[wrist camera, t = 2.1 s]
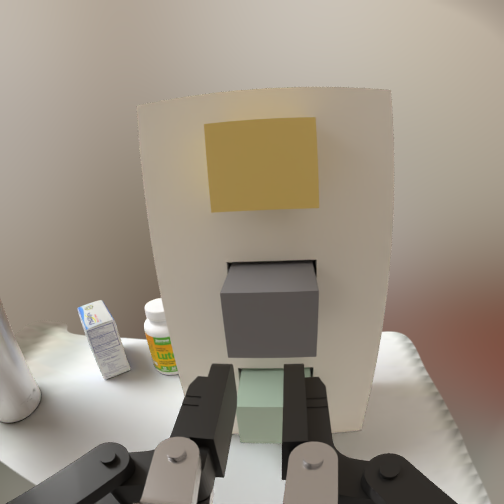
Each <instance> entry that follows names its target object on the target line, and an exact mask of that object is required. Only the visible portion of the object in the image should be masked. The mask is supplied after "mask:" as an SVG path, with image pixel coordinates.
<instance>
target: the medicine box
mask: <svg viewBox="0 0 504 504" xmlns="http://www.w3.org/2000/svg"><path fill="white" fill-rule="evenodd" d="M78 313H79V316H80V320H81V322H82V325H83V328H84V331H85V334H86V337H87V340H88V342H89V345H90V348H91V350H92V353H93V355H94V357H95V360H96V362H97V364H98V366H99V369H100V371H101V373H102V376H103V378H104V379H108V378H111V377H114V376H117V375H119V374H122V373H124V372H126V371H129V370H131V368H130V365H129V363H128V360H127V357H126V354H125V351H124V348H123V345H122V342H121V339H120V336H119V333H118V330H117V326H116V324H115V321H114V319H113V317H112V316H111V314H110V312H109V311H108V309H107V307H106V306H105V304H104V302H103V301H102V300H100V301H96V302H92V303H89V304H86V305H83V306H81V307H79V308H78Z"/></svg>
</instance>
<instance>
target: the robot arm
mask: <svg viewBox="0 0 504 504" xmlns="http://www.w3.org/2000/svg"><path fill="white" fill-rule="evenodd" d="M40 399H41V392H40V389H39V387H38V386H37V384H36V382H35V380H34V378H33V376H32V374H31V371H30V369H29V367H28V365H27V363H26V361H25V359H24V356H23V354H22V352H21V350H20V347H19V345H18V343H17V341H16V338H15V336H14V334H13V331H12V328H11V326H10V323H9V321H8V318H7V315H6V313H5V310H4V307H3V304H2V302H1V299H0V421H1V422H5V423H11V422H17V421H19V420H22V419H24V418H26V417H27V416H29V415H30V414H31V413H32V412H33V411H34V410H35V409H36V408H37V406H38V405H39V402H40ZM236 409H237V390H236V383H235V375H234V368H233V364H217V363H212V365H211V367H210V371H209V374H208V377H205V376H198V377H197V378H196V379H195V380H194V381H193V382H192V383H191V384H190V385H189V387H188V389H187V392H186V395H185V398H184V400H183V403H182V406H181V409H180V411H179V414H178V417H177V420H176V422H175V425H174V428H173V431H172V433H171V436H170V438H168V439H166V440H164V441H162V442H161V443H160V444H159V445H158V446H157V447H156V449H155V450H151V451H144V452H131V453H128V451H127V449H126V448H125V447H124V446H122V445H120V444H118V443H113V442H108V443H103V444H100V445H98V446H97V447H95V448H94V449H92V450H91V451H89V452H88V453H86V454H85V455H83V456H82V457H80V458H79V459H77V460H76V461H74V462H73V463H71V464H70V465H68V466H67V467H65V468H64V469H62V470H60V471H59V472H57V473H56V474H54V475H53V476H51V477H49V478H48V479H46V480H45V481H43V482H41V483H40V484H38V485H37V486H35V487H33V488H32V489H30V490H28V491H27V492H25V493H23V494H22V495H20V496H18V497H17V498H15V499H13V500H12V501H10V502H8V503H6V504H213V495H214V492H213V486H214V481H215V477H222V478H224V475H225V469H226V464H227V459H228V453H229V448H230V442H231V437H232V431H233V426H234V420H235V415H236ZM282 480H286V485H285V492H284V499H283V504H458V503H456V502H455V501H454V500H453V499H452V498H450V497H449V496H448V495H447V494H446V493H444V492H443V491H442V490H441V489H440V488H438V487H437V486H436V485H435V484H434V483H433V482H431V481H430V480H429V479H428V478H427V477H426V476H424V475H423V474H422V473H421V472H420V471H419V470H418V469H416V468H415V467H414V466H413V465H412V464H411V463H410V462H408V461H407V460H406V459H405V458H404V457H402V456H400V455H397V454H390V453H388V454H381V455H378V456H376V457H374V458H373V459H371V460H370V461H364V460H357V459H352V458H349V457H346V456H344V455H342V454H341V453H340V452H339V451H338V450H337V449H336V448H335V446H334V444H333V440H332V432H331V423H330V415H329V408H328V400H327V392H326V386H325V385H324V383H323V382H322V381H321V379H320V378H319V377H305V374H304V363H302V364H284V378H283V424H282Z"/></svg>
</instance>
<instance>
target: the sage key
mask: <svg viewBox="0 0 504 504" xmlns="http://www.w3.org/2000/svg"><path fill="white" fill-rule="evenodd" d="M304 374H305V377H311V376H310V367H306V368H304ZM283 378H284V368H242V371H241V377H240V382H239V388H238V393H237V409H236V416H237V423H238V429H239V435H240V442H241V443H282V424H283Z"/></svg>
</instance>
